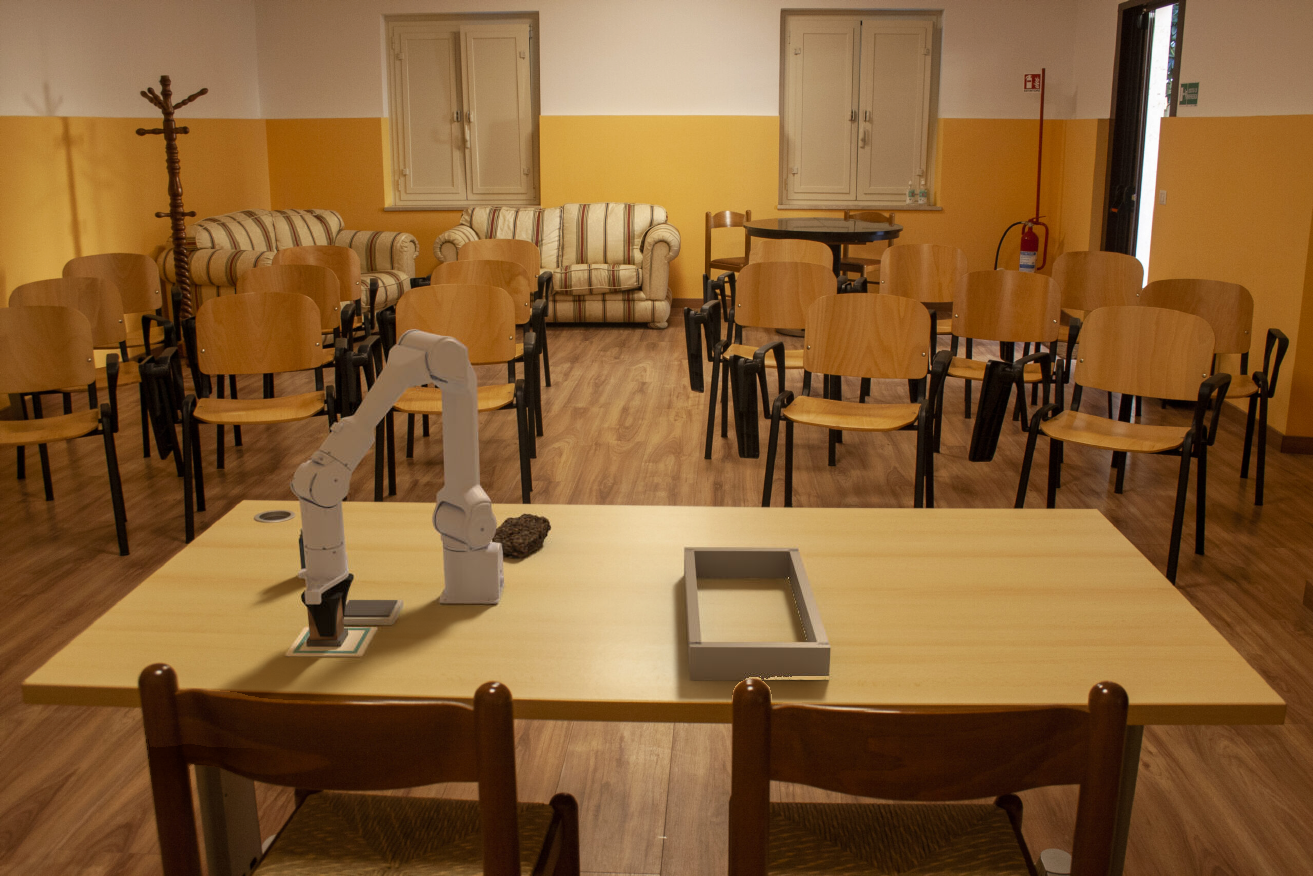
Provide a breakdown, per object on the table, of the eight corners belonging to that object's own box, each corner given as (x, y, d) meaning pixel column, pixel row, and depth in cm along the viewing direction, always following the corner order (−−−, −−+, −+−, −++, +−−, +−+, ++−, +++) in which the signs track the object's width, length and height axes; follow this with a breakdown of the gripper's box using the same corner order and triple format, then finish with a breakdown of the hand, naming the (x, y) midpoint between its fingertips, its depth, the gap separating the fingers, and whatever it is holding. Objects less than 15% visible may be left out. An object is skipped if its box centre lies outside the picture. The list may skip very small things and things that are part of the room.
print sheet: (377, 629, 167) (377, 626, 167) (362, 656, 158) (361, 654, 158) (305, 628, 167) (304, 626, 167) (285, 656, 158) (285, 653, 158)
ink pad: (403, 605, 175) (402, 598, 175) (393, 624, 168) (392, 617, 168) (346, 605, 175) (346, 598, 175) (334, 624, 168) (333, 616, 168)
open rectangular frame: (796, 575, 187) (797, 547, 186) (828, 680, 152) (830, 647, 150) (684, 574, 187) (684, 547, 186) (689, 680, 152) (690, 647, 150)
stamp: (348, 634, 164) (345, 595, 163) (340, 646, 160) (337, 607, 159) (314, 634, 164) (311, 595, 163) (306, 646, 160) (303, 606, 159)
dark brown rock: (519, 532, 207) (518, 507, 206) (560, 544, 202) (560, 518, 200) (476, 551, 198) (475, 524, 197) (518, 563, 193) (517, 536, 191)
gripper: (312, 525, 165) (319, 608, 169) (279, 561, 151) (288, 651, 155) (358, 525, 165) (365, 609, 169) (331, 562, 151) (338, 652, 155)
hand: (331, 629), depth 162 cm, fingers closed on stamp, 3 cm apart
